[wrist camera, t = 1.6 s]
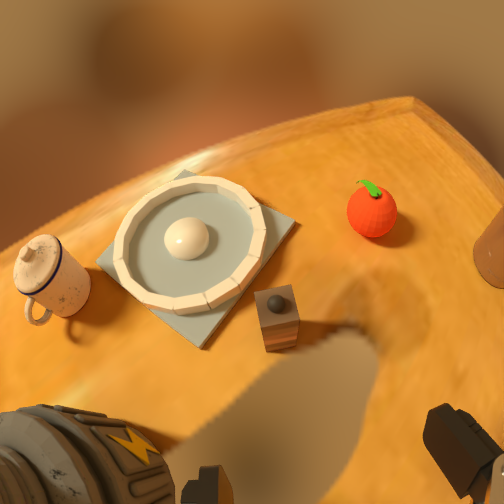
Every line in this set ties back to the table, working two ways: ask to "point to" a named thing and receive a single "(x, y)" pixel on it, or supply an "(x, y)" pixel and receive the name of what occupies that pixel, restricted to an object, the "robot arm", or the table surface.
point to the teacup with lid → (50, 279)
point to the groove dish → (194, 251)
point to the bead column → (278, 317)
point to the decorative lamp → (78, 460)
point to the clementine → (371, 210)
